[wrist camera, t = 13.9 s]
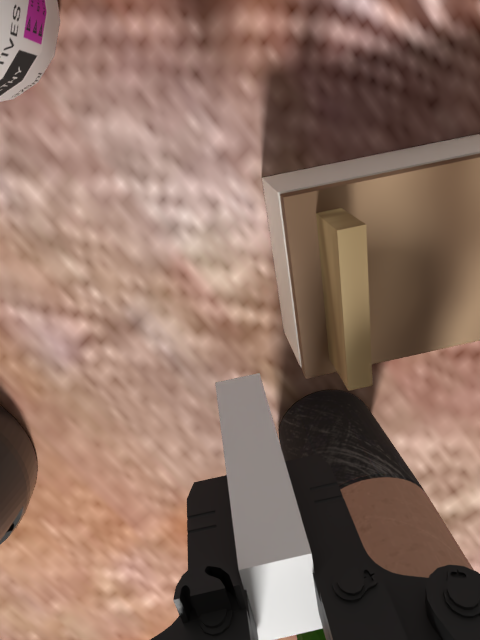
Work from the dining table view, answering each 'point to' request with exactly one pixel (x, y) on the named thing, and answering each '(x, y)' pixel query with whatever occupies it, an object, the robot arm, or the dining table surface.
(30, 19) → the supplement can
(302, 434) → the travel mug
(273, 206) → the keepsake box
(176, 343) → the dining table surface
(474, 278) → the lid
